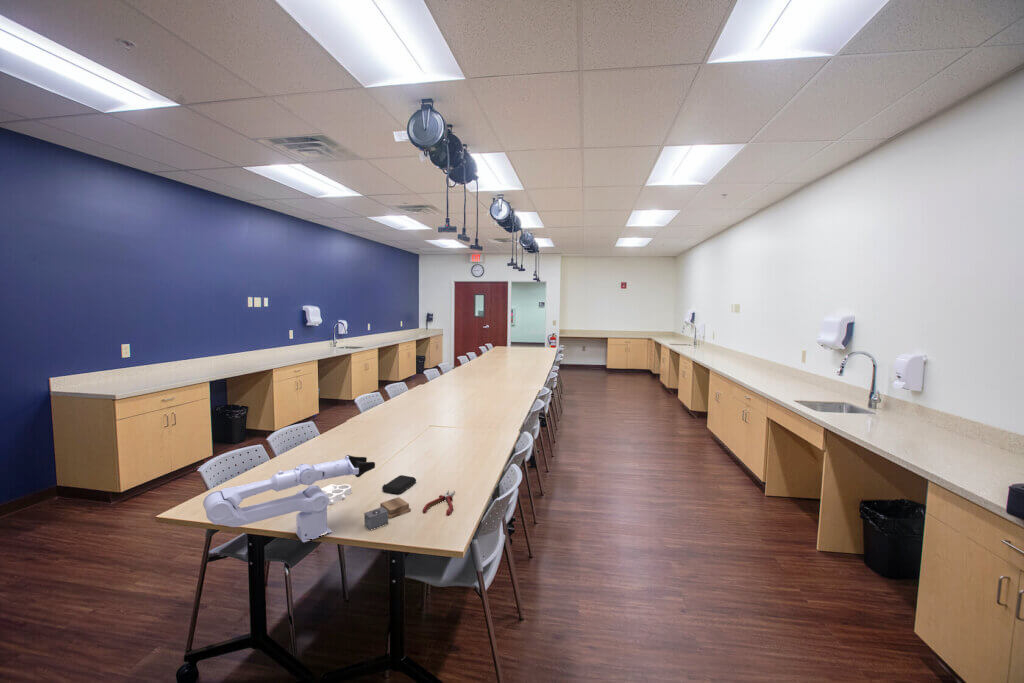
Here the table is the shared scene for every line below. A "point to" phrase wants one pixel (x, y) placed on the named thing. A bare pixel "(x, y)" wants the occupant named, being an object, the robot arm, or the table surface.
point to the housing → (376, 518)
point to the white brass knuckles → (336, 492)
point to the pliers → (440, 499)
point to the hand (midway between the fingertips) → (370, 462)
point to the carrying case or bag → (399, 484)
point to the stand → (395, 507)
